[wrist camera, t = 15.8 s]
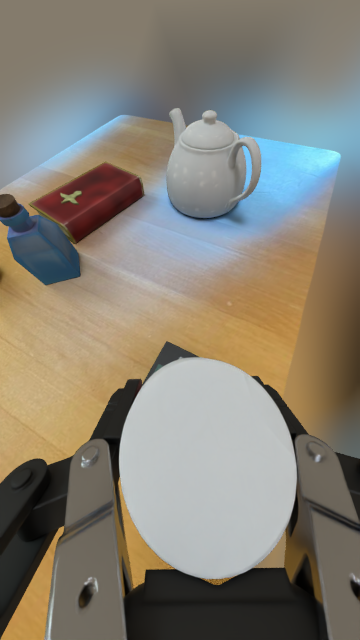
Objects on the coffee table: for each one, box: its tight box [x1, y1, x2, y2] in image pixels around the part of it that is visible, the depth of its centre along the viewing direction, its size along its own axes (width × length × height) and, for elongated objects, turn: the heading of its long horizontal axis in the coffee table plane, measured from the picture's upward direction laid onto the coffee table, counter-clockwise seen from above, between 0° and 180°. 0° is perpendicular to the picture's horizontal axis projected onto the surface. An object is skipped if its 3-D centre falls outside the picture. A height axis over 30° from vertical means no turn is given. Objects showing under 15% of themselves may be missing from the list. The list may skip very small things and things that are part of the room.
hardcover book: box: [29, 162, 144, 244], centre depth 38 cm, size 12×21×4 cm, turn 142°
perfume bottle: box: [0, 194, 80, 285], centre depth 27 cm, size 6×6×12 cm
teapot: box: [166, 108, 261, 218], centre depth 34 cm, size 19×18×14 cm
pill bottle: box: [119, 357, 297, 579], centre depth 9 cm, size 6×6×11 cm
